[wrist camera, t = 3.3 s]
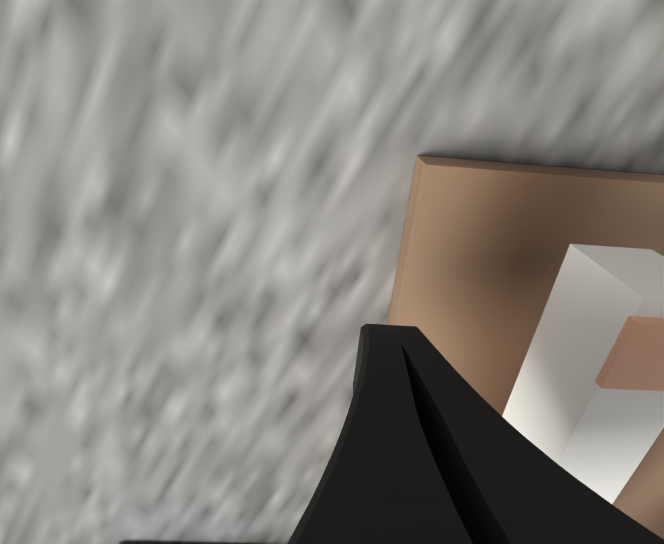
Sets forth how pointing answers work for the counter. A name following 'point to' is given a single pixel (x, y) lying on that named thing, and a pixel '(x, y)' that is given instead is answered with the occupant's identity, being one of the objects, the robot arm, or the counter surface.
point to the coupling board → (516, 269)
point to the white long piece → (596, 366)
